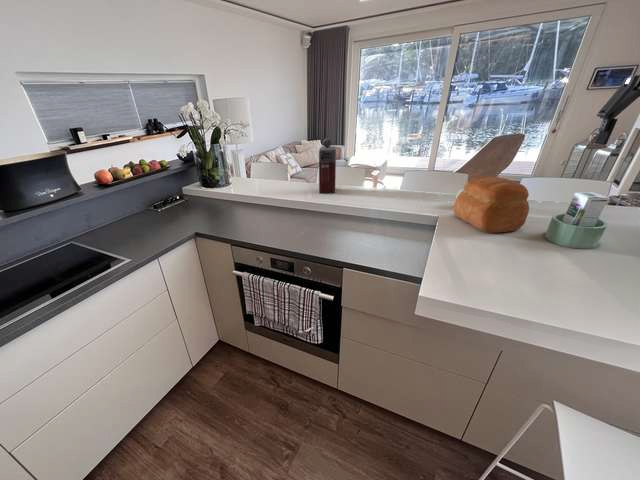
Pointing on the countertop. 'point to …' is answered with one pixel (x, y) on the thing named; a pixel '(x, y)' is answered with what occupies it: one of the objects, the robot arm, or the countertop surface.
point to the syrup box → (585, 209)
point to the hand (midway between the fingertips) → (625, 141)
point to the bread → (493, 204)
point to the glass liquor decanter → (327, 167)
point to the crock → (574, 233)
